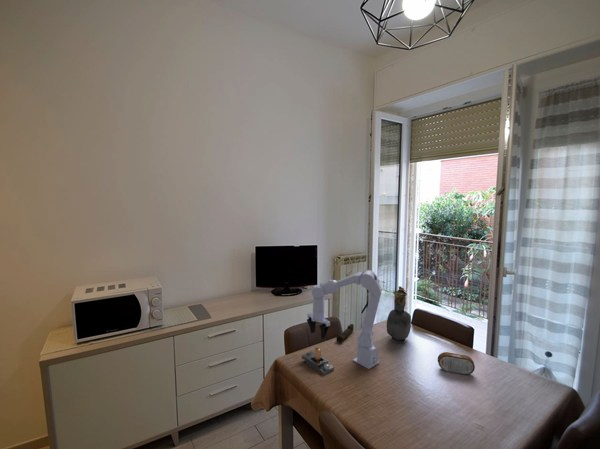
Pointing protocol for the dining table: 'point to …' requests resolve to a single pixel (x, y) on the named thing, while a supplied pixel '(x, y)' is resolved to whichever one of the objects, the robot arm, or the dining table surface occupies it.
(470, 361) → the tin
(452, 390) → the dining table surface
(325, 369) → the grey plate with knobs
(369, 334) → the robot arm
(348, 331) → the hand tool
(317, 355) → the copper pin
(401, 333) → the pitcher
